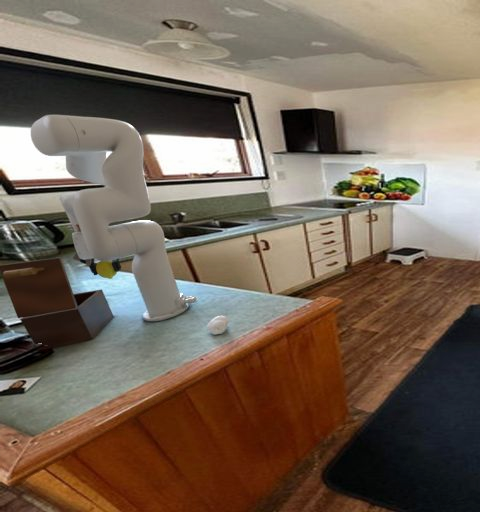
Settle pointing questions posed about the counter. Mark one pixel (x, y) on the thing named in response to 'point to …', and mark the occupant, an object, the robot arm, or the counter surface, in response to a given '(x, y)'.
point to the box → (70, 321)
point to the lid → (38, 287)
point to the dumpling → (218, 325)
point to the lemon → (105, 269)
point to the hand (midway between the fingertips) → (107, 271)
